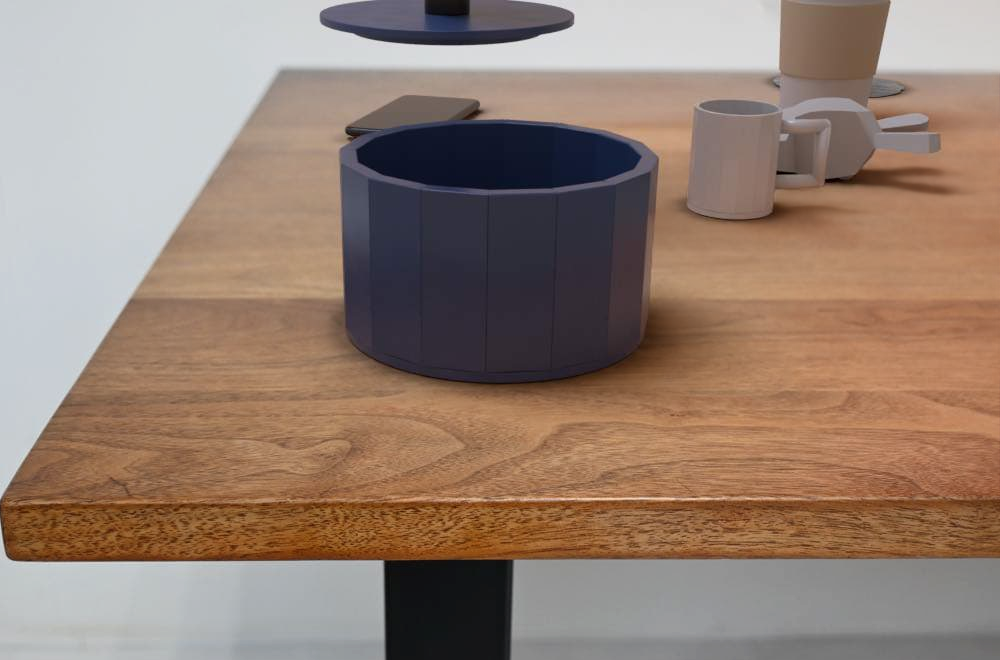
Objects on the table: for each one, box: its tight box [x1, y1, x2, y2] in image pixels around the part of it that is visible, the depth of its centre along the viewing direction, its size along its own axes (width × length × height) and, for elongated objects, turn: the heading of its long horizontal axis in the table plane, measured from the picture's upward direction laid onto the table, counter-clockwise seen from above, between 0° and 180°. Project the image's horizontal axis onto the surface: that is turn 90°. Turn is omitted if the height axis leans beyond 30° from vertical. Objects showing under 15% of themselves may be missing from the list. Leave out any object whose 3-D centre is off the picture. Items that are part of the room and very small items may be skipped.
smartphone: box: [344, 94, 481, 138], centre depth 103 cm, size 7×1×15 cm
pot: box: [338, 118, 660, 384], centre depth 60 cm, size 15×15×8 cm
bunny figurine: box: [777, 98, 942, 181], centre depth 88 cm, size 10×5×15 cm
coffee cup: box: [778, 0, 892, 109], centre depth 103 cm, size 9×9×15 cm
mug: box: [686, 98, 831, 220], centre depth 80 cm, size 9×5×6 cm, turn 97°
